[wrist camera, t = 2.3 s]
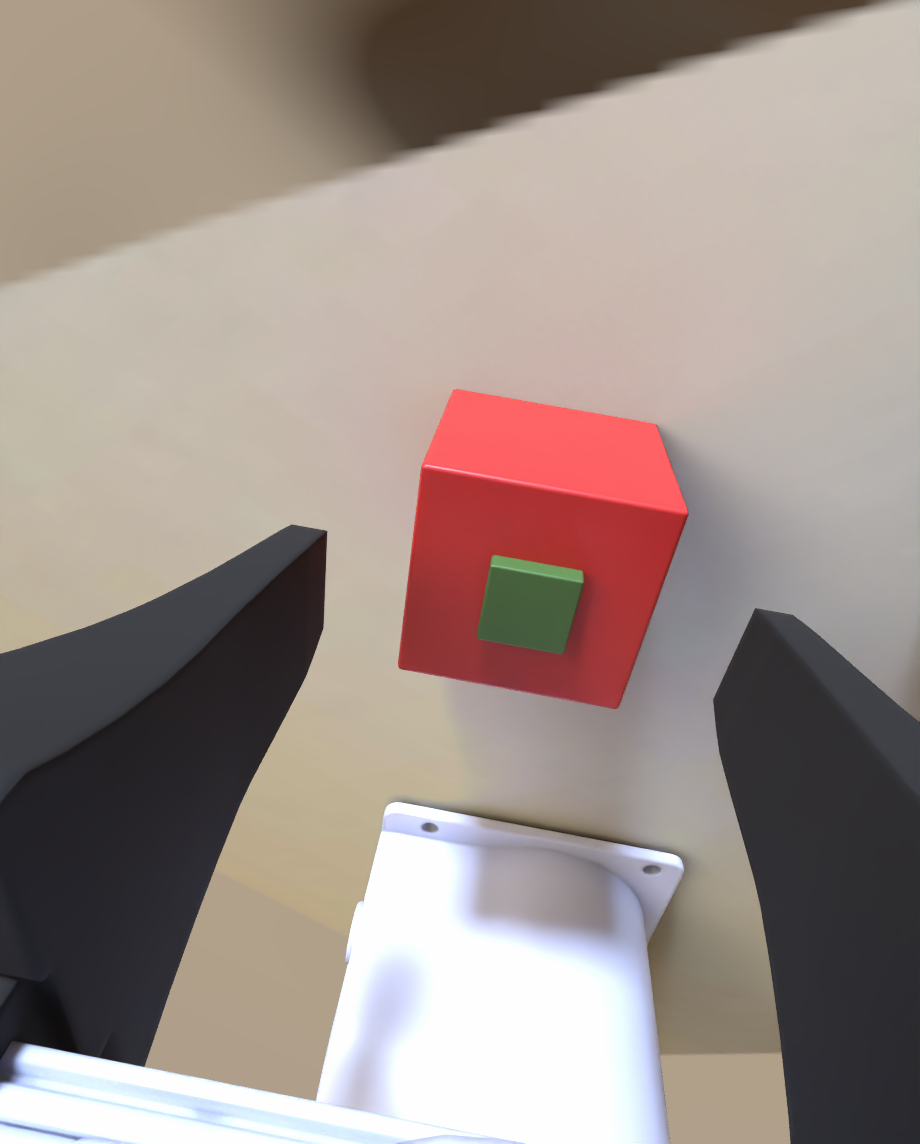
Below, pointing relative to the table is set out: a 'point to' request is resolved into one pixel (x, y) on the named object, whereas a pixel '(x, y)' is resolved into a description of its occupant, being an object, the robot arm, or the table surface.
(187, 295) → the table surface
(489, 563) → the block
